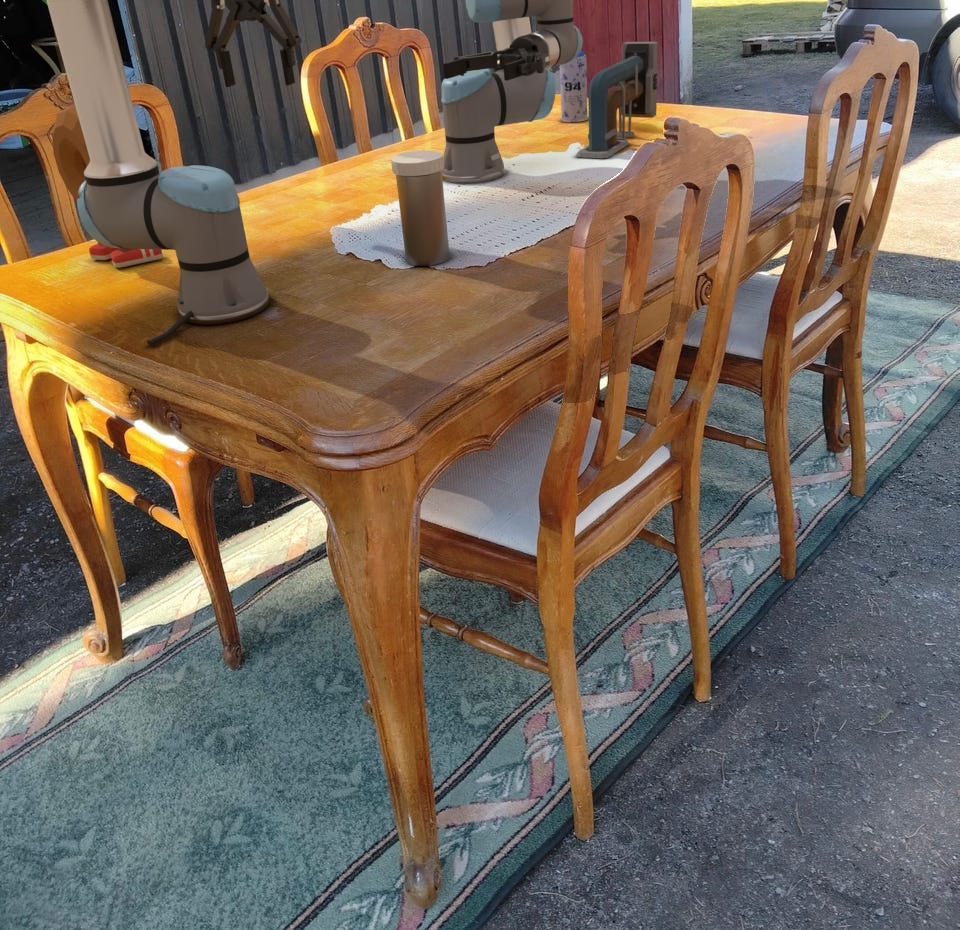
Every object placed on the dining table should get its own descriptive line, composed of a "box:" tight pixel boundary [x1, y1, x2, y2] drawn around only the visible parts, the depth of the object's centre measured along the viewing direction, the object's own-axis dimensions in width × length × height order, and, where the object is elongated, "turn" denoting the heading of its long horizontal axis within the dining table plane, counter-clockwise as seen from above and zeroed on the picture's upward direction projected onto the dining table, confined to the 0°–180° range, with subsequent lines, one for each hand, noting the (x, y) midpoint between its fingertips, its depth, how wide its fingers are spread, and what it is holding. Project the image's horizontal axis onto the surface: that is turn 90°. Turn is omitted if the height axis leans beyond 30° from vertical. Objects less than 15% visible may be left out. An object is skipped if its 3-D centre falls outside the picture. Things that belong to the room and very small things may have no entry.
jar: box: [395, 170, 451, 267], centre depth 177 cm, size 8×8×18 cm
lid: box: [390, 150, 444, 176], centre depth 172 cm, size 9×9×2 cm
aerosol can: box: [559, 50, 589, 123], centre depth 273 cm, size 8×8×20 cm
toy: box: [51, 103, 164, 269], centre depth 188 cm, size 21×10×30 cm, turn 47°
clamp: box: [575, 41, 659, 159], centre depth 245 cm, size 35×9×21 cm, turn 151°
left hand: (260, 85), depth 196 cm, fingers open, 13 cm apart
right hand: (474, 72), depth 181 cm, fingers open, 13 cm apart
